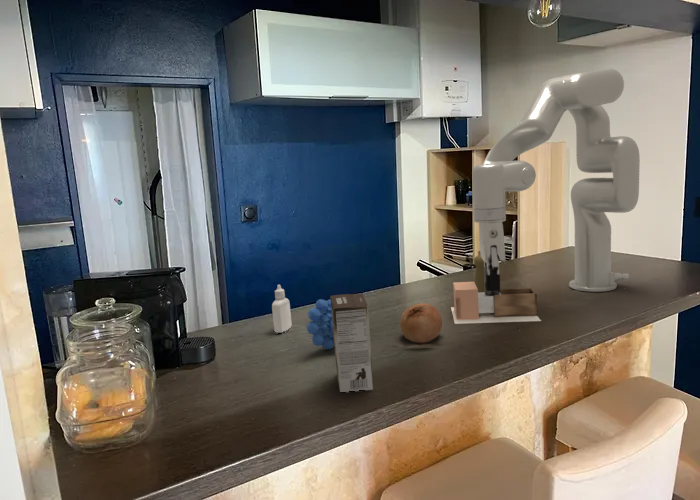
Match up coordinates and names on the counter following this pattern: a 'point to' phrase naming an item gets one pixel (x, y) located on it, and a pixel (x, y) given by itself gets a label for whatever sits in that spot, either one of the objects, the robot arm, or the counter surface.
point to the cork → (479, 273)
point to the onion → (421, 323)
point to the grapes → (321, 324)
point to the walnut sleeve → (515, 302)
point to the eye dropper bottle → (281, 311)
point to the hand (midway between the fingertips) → (492, 287)
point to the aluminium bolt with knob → (486, 298)
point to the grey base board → (494, 318)
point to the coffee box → (352, 342)
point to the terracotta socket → (465, 300)
